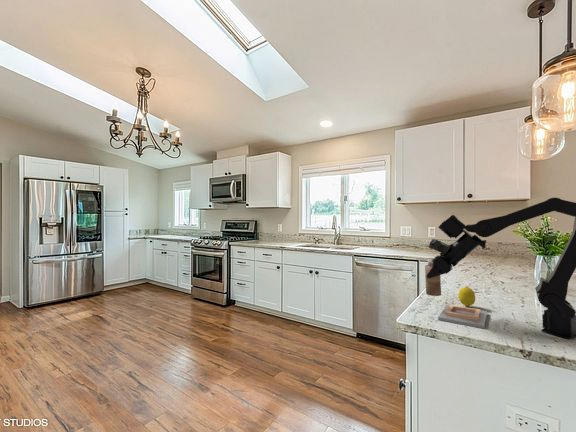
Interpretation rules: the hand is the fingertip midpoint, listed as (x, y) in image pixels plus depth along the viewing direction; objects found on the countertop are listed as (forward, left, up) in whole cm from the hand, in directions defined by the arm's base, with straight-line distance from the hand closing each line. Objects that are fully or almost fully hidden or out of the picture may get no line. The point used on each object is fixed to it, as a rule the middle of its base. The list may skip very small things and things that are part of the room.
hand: (428, 276), depth 104 cm
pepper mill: (-1, -1, -7) cm, 7 cm away
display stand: (-9, -5, -13) cm, 17 cm away
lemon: (-3, -17, -13) cm, 22 cm away
